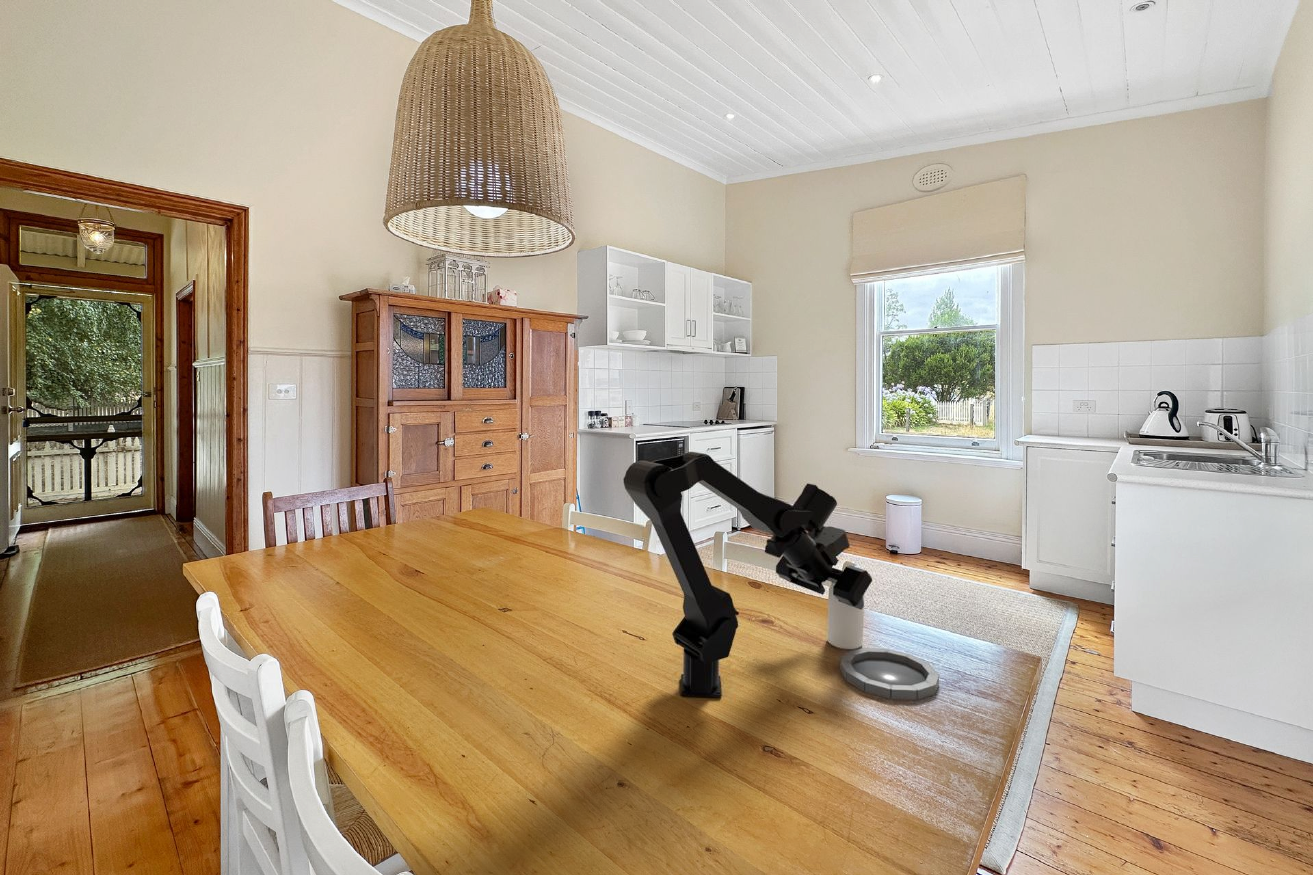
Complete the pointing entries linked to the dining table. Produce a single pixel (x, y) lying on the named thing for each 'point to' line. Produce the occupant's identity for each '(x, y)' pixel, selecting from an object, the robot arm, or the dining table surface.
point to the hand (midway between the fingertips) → (842, 599)
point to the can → (844, 623)
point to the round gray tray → (889, 673)
